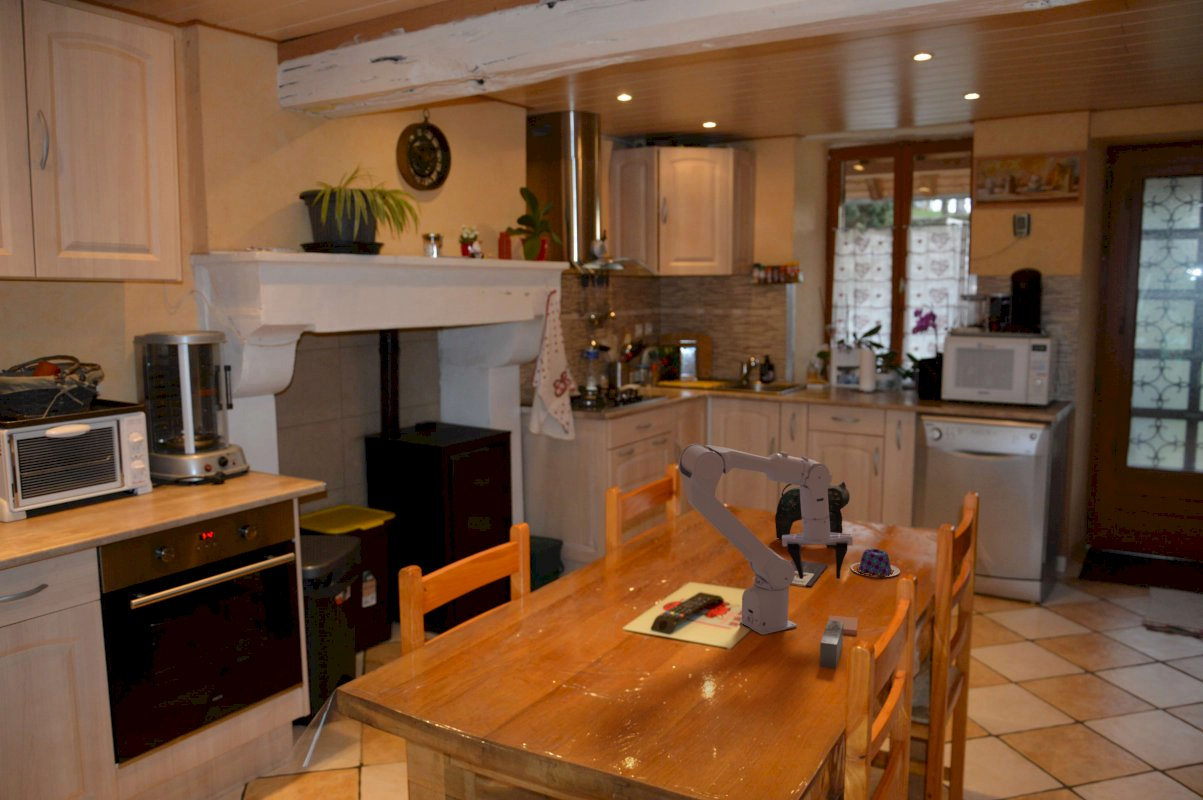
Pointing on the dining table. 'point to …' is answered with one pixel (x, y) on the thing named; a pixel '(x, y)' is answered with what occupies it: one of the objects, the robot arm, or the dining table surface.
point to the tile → (846, 624)
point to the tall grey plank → (831, 644)
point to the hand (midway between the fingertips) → (819, 576)
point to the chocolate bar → (808, 573)
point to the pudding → (876, 563)
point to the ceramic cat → (792, 509)
